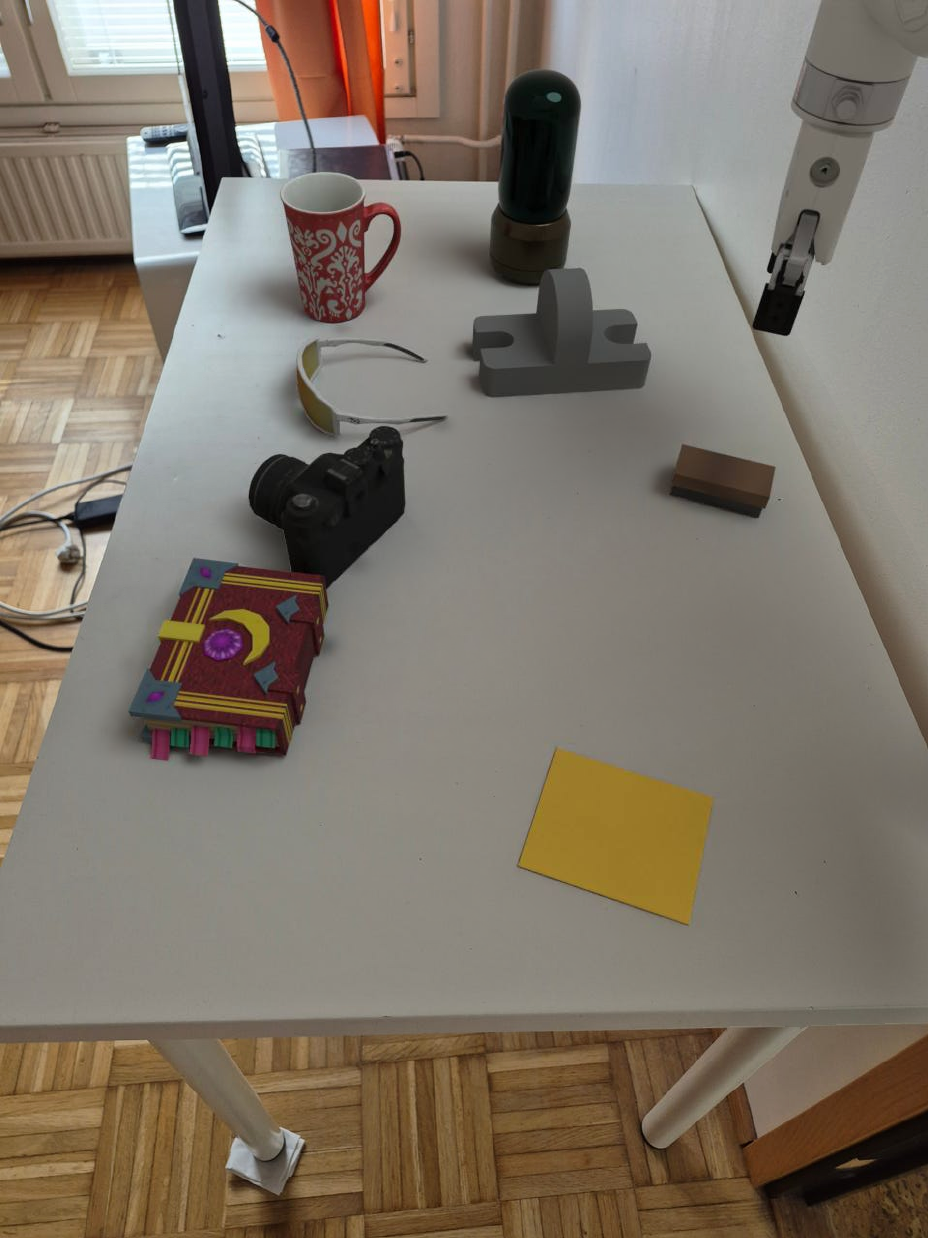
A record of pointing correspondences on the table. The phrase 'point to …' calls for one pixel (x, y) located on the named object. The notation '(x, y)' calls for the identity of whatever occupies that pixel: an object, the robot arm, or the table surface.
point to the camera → (333, 502)
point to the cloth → (619, 835)
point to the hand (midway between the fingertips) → (777, 301)
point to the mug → (333, 242)
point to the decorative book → (233, 660)
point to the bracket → (559, 344)
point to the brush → (722, 481)
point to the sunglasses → (325, 412)
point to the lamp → (535, 176)
